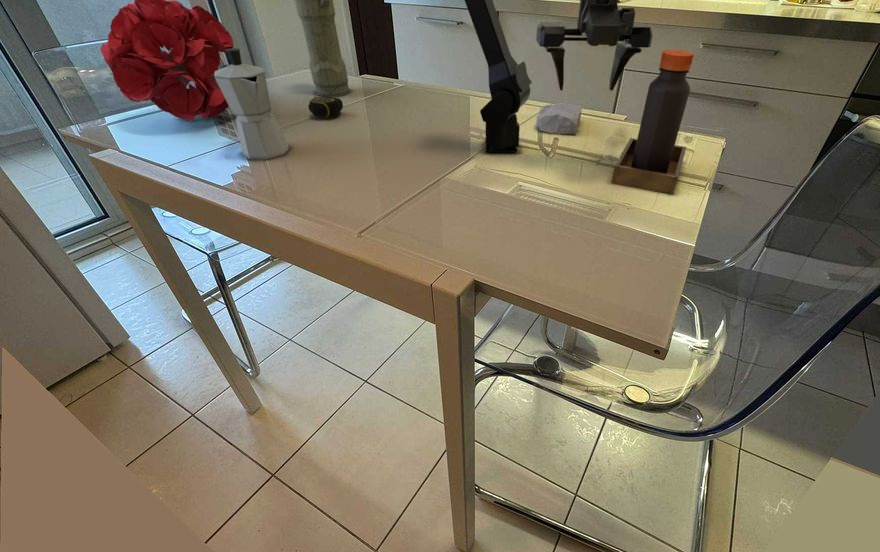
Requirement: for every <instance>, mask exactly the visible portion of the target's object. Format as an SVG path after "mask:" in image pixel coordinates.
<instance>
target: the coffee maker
mask: <svg viewBox="0 0 880 552" xmlns="http://www.w3.org/2000/svg"><path fill="white" fill-rule="evenodd" d="M225 51H226V52H225V53H226V55H227V57H228V59H229V60H230V62H231V63H230V64H220V65H219V68H218V70H217V71H215V73H214V77H215V79H216V81H217V83H218V85H219V87H220V89H221V91H222V93H223V95H224V97H225V99H226V101H227V103H228V105H229V107H228V108H229V109H230V111H231V113H232V114H234V115H235V116H236V118H235V119H234V120H235V126H236V129H237V130H236V131H237V135H238V141H239V145H240V151H241V155H242V156H243V157H245V158H246V159H248V160H253V161H254V160H260V161H261V160H262V161H263V160H264V161H265V160H271V159H275V158H278V157H282V156H284V155H286V153H287V152H288V151H289V150H290V147H289V145H288V143H287V141H286V138H285V136H284V134H283V132H282V130H281V128H280V126H279V123H278V122H277V120H276V117H275V115H274V114H272V112H271V110H272V107H271V106H272V105H271V99H270V94H269V90H268V89H269V88H268V84H267V77H266V72H265V67H262V66H256V65H252V64H248V63H242V58H241V51H240V48H235V47H233V48H232V49H226V50H225Z"/></svg>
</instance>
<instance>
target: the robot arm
mask: <svg viewBox="0 0 880 552" xmlns="http://www.w3.org/2000/svg"><path fill="white" fill-rule="evenodd" d="M618 2H619V0H579V8H578V16H577V20H576V27H565V25H564V24H563V23H562V22H561V21H540V22H539V23H538V25H537V26H536V27H537V28H536V37H535V38H536V40H535V41H536V42H537V44H538V46H539V47H542V48H544V49H545V51H546V53H550V54H551V58H552V61H553V65H554V70H555V73H556V79H557V83H558V89H559V90H560V91H563V89H564V80H565V78H564V77H565V73H564V72H565V70H564V69H565V53H566V49H565V47H564V46H563V44H564V43H565V42H587V44H588V45H589V46H590V47H591V46H592V47H598V46H609V47H615V51H614V57H613V61H612V67H611V72H610V77H609V86H608V87H609V88H608V89H609V91H610V92H612V91H614V89H615V87H616V85H617V83H618V81H619V79H620V77H621V75H622V74H623V72H624V69H625V67H626V66H627V64H628V62H630V60H631V59H632V58H633V57H634V55H636V54H640V53H641V52H642V50H643V48H650V47H651V44H652V40H653V35H654V34H653V29H652V28H651V26H649V25H648V24H645V23H643V22H635V17H636V10H635V8H634V7H622V8H621V9H619V7H618ZM464 3H465V6H466V9H467V11H468V14H469V17H470V19H471V22H472V25H473V28H474V30H475V33H476V36H477V39H478V41H479V44H480V47H481V50H482V53H483V55H484V58H485V62H486V63H487V70H488V71H487V72H488V88H489V93H490V98H491V99H490V100H489V101H488V102H487V103H486V104H485V105H484V106H483V107H482V108H481V109H480V111H479V112H480V116H481V119H482V122H483V123H485V139H484V152H485V153H487V154H516V153H518V148H519V146H520V131H521V130H520V128H521V127H520V123H519V122H518V116H517V113H519V111H520V108H522V107H523V106H524V105H525V104H526V103H527V102H528V100H529V97H530V95H531V86H530V85H531V84H532V83H533V81H532V79H531V78H530V77H529V74H528V69H527V65H526V62H525V61H522V62H520V63H517V61H516V60H515V59H514V58H513V56H512V54H511V52H510V49H509V46H508V42H507V40H506V39H507V38H506V36H505V34H504V30H503V28H502V24H501V21H500V18H499V16H498V13H497V9H496V7H495V3H494V1H493V0H464ZM583 33H585V34H583Z"/></svg>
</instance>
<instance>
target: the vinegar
mask: <svg viewBox="0 0 880 552" xmlns="http://www.w3.org/2000/svg"><path fill="white" fill-rule="evenodd" d="M694 55H695V54H694V53H693V52H692V51H688V50H684V49H664V50H663V51H662V53H661V57H660V62H659V68H658V70H659V75H658V76H657V77H656V78H654V79H653V80H652V81H651V82H650V83H649V86H648V90H647V94H646V98H645V103H644V107H643V112H642V116H641V121H640V125H639V129H638V134H637V138H636V139H637V143H636V147H635V152H634V156H633V161H632V165H631V167H632V168H637V169H643V170H648V171H654V172H660V173H665V174H666V173H667V171H668V167H669V164H670V160H671V157H672V153H673V150H674V146H675V145H676V142H677V138H678V135H679V132H680V128H681V125H682V120H683V117H684V113H685V110H686V107H687V103H688V100H689V95H690V92H691V85H690V84H689V82H688V80H687V79H686V77H687V74H689V72H690V70H691V68H692V67H691V66H692V62H693V60H694Z"/></svg>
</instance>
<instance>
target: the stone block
mask: <svg viewBox="0 0 880 552" xmlns="http://www.w3.org/2000/svg"><path fill="white" fill-rule="evenodd" d="M582 108H583V106H582V105H575V104H569V103H564V102H557V103H554V104H547V105H544V106H543V107H542V108H541V109H540V110H539V112H538V114H537V115H536V126H537V128H538V129H539V131H541V132H545V133H549V134H556V135H557V134H560V135H576V134H577V131H578V128H579V124H580V120H581V117H582Z"/></svg>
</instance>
